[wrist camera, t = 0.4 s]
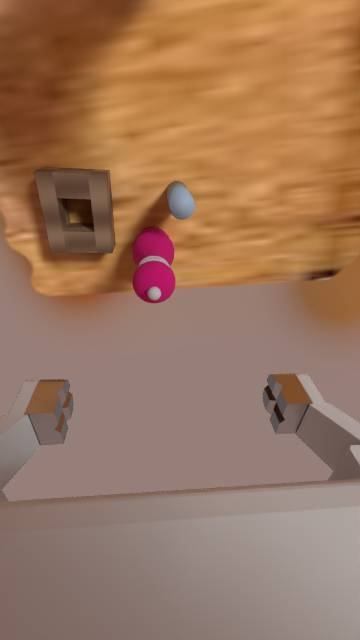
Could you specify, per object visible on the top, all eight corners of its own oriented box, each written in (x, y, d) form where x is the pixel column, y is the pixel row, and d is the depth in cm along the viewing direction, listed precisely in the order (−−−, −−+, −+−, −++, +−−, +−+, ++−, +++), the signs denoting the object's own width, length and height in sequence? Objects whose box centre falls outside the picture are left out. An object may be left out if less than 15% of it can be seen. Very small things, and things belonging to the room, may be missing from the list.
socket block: (44, 167, 44) (33, 171, 40) (109, 170, 45) (105, 174, 41) (59, 242, 51) (51, 252, 47) (115, 243, 52) (112, 253, 48)
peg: (166, 180, 47) (169, 192, 39) (188, 181, 47) (195, 193, 39) (166, 203, 49) (169, 219, 41) (186, 204, 49) (193, 219, 41)
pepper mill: (141, 266, 55) (137, 325, 39) (128, 230, 51) (117, 279, 34) (177, 256, 54) (188, 312, 38) (166, 219, 50) (174, 263, 34)
